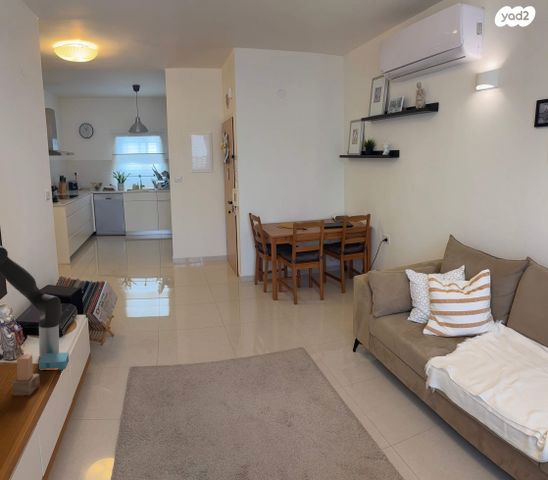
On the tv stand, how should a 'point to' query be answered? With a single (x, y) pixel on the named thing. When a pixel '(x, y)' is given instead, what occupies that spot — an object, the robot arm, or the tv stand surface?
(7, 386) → the tv stand surface
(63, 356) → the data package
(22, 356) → the terracotta block
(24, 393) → the grey brown block
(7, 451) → the tv stand surface
